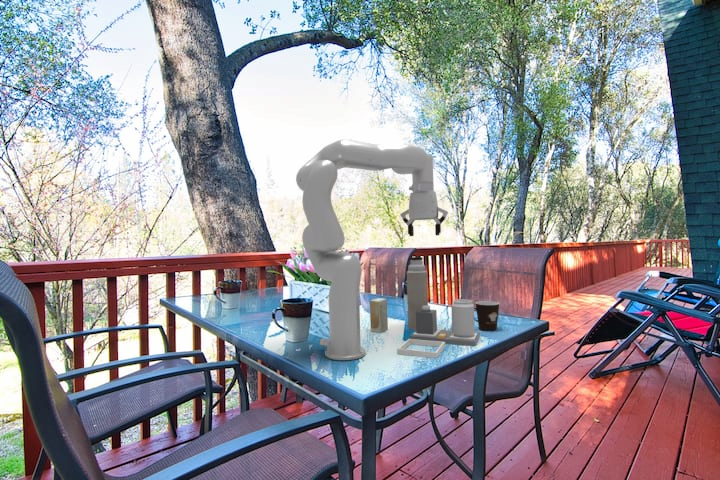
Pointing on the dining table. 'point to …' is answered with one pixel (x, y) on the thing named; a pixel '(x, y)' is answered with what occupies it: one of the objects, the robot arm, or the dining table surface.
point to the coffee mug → (487, 315)
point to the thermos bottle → (416, 289)
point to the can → (463, 318)
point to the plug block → (426, 320)
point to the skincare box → (378, 315)
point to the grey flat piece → (447, 338)
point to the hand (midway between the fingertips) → (424, 235)
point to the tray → (417, 352)
